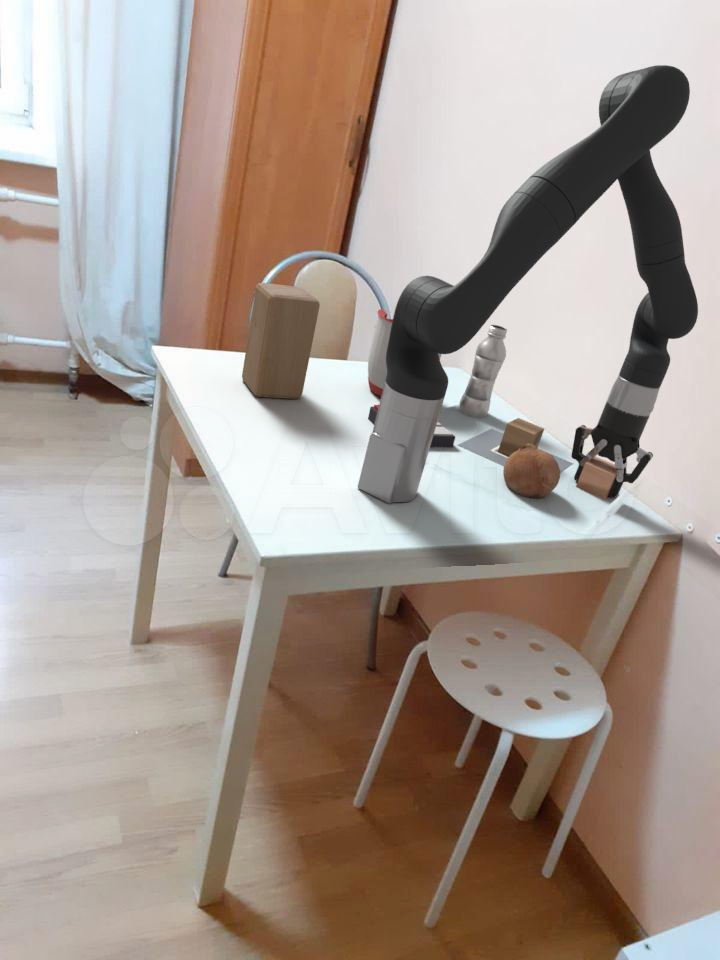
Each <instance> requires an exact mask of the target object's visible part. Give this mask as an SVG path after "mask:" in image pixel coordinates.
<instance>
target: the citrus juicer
mask: <svg viewBox="0 0 720 960" xmlns="http://www.w3.org/2000/svg"><path fill="white" fill-rule="evenodd" d="M376 314H377V319H376V323H375V326H374V331H373V335H372V339H371V344H370V347H369V353H368V354H369V355H368V358H367V359H368V360H367V374H368V375H367V381H368V386H369V390H370V391H371V392H372V393H374V394H375V395H376V396H378V397H380V398H381V396H382V392H383V388H384V384H385V380H386V376H387V366H386V352H387V347H388V342H389V337H390V331H391V326H392V321H393V318H387V317H388V312H386V311H385V310H384V309H383V308H380V309H378V310H377V313H376ZM441 358H442V354H439V359H440V360H441Z"/></svg>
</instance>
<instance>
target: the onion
mask: <svg viewBox="0 0 720 960" xmlns="http://www.w3.org/2000/svg"><path fill="white" fill-rule="evenodd" d="M539 449H540V448H538V449H537V447H536V446H534V445H532V444H530V443H529V444H528V443H527V444H526V445H525V446H523V447H521V448H520V449H519V450H518V451H516V452H514V453H513V454H511V455H510V456H509V458H508V459H507V460H506V462H505V465H504V466H503V474H502V475H503V480H504V483H505V484H506V486H507V488H508V489H510V490H511V491H513V492H514V493H516V494H518V495H520V496H523V497H527V498H530V499H538V500H540V499H543V498H544V497H545V496H547V495H548V494H550V493H552V492H553V491H554V490H555V488H557V487H558V485H559V481H560V477H561V473H560V469H559V465H558V463H557V461H556V460H555V459H554V457H553V456H552V455H553V454H552V453H550V452H548V451H545V450H543V449H541V450H539ZM542 450H543V451H542ZM544 451H545V452H544ZM547 452H548V453H547ZM549 453H550V454H549ZM551 454H552V455H551Z"/></svg>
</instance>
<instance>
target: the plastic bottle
mask: <svg viewBox="0 0 720 960" xmlns="http://www.w3.org/2000/svg"><path fill="white" fill-rule="evenodd" d="M507 332H508V329H507V328H506V327H504V326H501V325H497V324H490V325H489V329H488V331H487V337H486V338H484V339H483V340H481V342H480V343H478V345H477V346H476V349H475V354H474V360H473V366H472V370H471V374H470V377H469V380H468V383H467V385H466V388H465V391H464V392H463V394H462V396H461V399H460V401H459V405H458V409H459V411H460V412H461V413H463V414H464V415H467V416H470V417H473V418H478V419H479V418H485V417H486V416H487V415H488V413H489V411H490V406H491V398H492V394H493V390H494V386H495V382H496V379H497V377H498V375H499V372H500V370H501V369H502V367H503V363H504V362H505V359H506V357H507V350H506V345H505V343H504V340H505V339H506V337H507V336H506V335H507Z"/></svg>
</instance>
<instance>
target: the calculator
mask: <svg viewBox="0 0 720 960" xmlns="http://www.w3.org/2000/svg"><path fill="white" fill-rule="evenodd" d="M378 408H379V404H373V406H370V407H369V411H368V413H369V414H368V417H367V419H368V421H369V422H370V423H371V424H372V425H373V426H374V424H375V420H376V416H377V412H378ZM455 441H456V436H455V435H454V434H453V432H451V431H450V430H449V429H447V428H446V427H444V426H442V423H440V422H439V421H437V425H436V428H435V432H434V435H433V439H432V442H431V445H430V448H453V447H454V443H455Z"/></svg>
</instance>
